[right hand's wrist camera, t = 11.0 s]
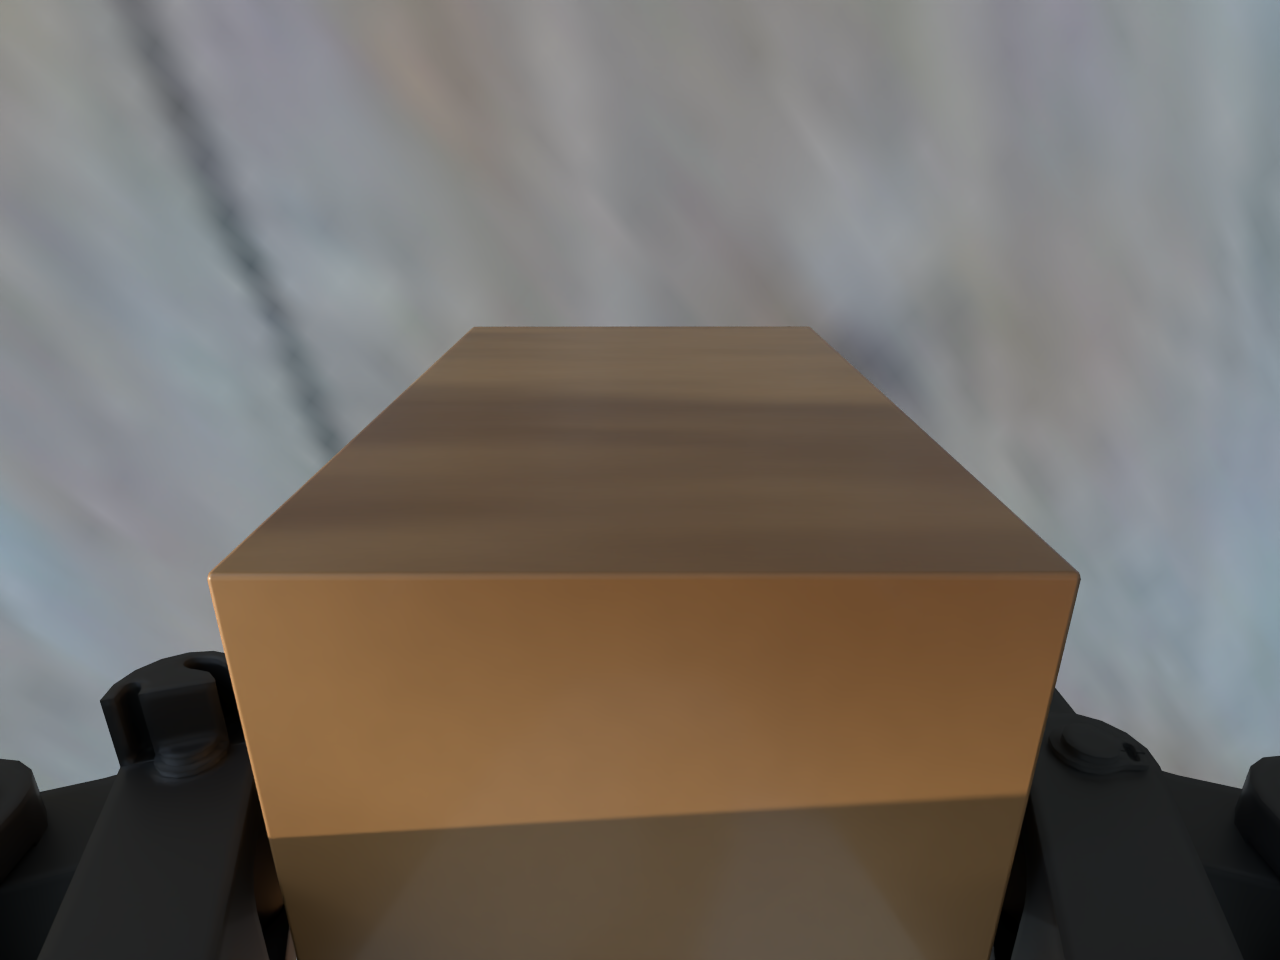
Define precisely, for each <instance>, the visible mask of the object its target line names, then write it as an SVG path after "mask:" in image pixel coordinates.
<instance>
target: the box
mask: <svg viewBox="0 0 1280 960" xmlns="http://www.w3.org/2000/svg"><path fill="white" fill-rule="evenodd" d="M1080 580H1081V579H1080V574H1079V572H1078V571H1077V570H1076V569H1075V568H1073V567H1072V566H1071V565H1070V564H1069V563H1068V562H1067V561H1066V560H1065V559H1064V558H1062V557H1061V556H1060V555H1059V554H1058V553H1057V552H1056V551H1055V550H1054V549H1053V548H1052V547H1050V546H1049V545H1048V544H1047V543H1046V542H1045V541H1044V540H1043V539H1042V538H1041V537H1039V536H1038V535H1037V534H1036V533H1035V532H1034V531H1033V530H1032V529H1031V528H1030V527H1029V526H1027V525H1026V524H1025V523H1024V522H1023V521H1022V520H1021V519H1020V518H1019V517H1018V516H1016V515H1015V514H1014V513H1013V512H1012V511H1011V510H1010V509H1009V508H1008V507H1007V506H1006V505H1004V504H1003V503H1002V502H1001V501H1000V500H999V499H998V498H997V497H996V496H995V495H993V494H992V493H991V492H990V491H989V490H988V489H987V488H986V487H985V486H984V485H983V484H981V483H980V482H979V481H978V480H977V479H976V478H975V477H974V476H973V475H972V474H970V473H969V472H968V471H967V470H966V469H965V468H964V467H963V466H962V465H961V464H960V463H958V462H957V461H956V460H955V459H954V458H953V457H952V456H951V455H950V454H949V453H947V452H946V451H945V450H944V449H943V448H942V447H941V446H940V445H939V444H938V443H937V442H935V441H934V440H933V439H932V438H931V437H930V436H929V435H928V434H927V433H926V432H924V431H923V430H922V429H921V428H920V427H919V426H918V425H917V424H916V423H915V422H914V421H912V420H911V419H910V418H909V417H908V416H907V415H906V414H905V413H904V412H903V411H901V410H900V409H899V408H898V407H897V406H896V405H895V404H894V403H893V402H892V401H891V400H889V399H888V398H887V397H886V396H885V395H884V394H883V393H882V392H881V391H880V390H878V389H877V388H876V387H875V386H874V385H873V384H872V383H871V382H870V381H869V380H868V379H866V378H865V377H864V376H863V375H862V374H861V373H860V372H859V371H858V370H857V369H855V368H854V367H853V366H852V365H851V364H850V363H849V362H848V361H847V360H846V359H845V358H843V357H842V356H841V355H840V354H839V353H838V352H837V351H836V350H835V349H834V348H832V347H831V346H830V345H829V344H828V343H827V342H826V341H825V340H824V339H823V338H822V337H820V336H819V335H818V334H817V333H816V332H815V331H814V330H813V329H812V328H811V327H473V328H472V329H471V330H470V331H469V332H468V333H466V334H465V335H464V336H463V337H462V338H461V339H460V340H459V341H458V342H457V343H456V344H455V345H454V346H453V347H451V348H450V349H449V350H448V351H447V352H446V353H445V354H444V355H443V356H442V357H441V358H440V359H439V360H437V361H436V362H435V363H434V364H433V365H432V366H431V367H430V368H429V369H428V370H427V371H426V372H425V373H423V374H422V375H421V376H420V377H419V378H418V379H417V380H416V381H415V382H414V383H413V384H412V385H411V386H409V387H408V388H407V389H406V390H405V391H404V392H403V393H402V394H401V395H400V396H399V397H398V398H397V399H396V400H394V401H393V402H392V403H391V404H390V405H389V406H388V407H387V408H386V409H385V410H384V411H383V412H382V413H380V414H379V415H378V416H377V417H376V418H375V419H374V420H373V421H372V422H371V423H370V424H369V425H368V426H366V427H365V428H364V429H363V430H362V431H361V432H360V433H359V434H358V435H357V436H356V437H355V438H354V439H352V440H351V441H350V442H349V443H348V444H347V445H346V446H345V447H344V448H343V449H342V450H341V451H340V452H339V453H337V454H336V455H335V456H334V457H333V458H332V459H331V460H330V461H329V462H328V463H327V464H326V465H325V466H323V467H322V468H321V469H320V470H319V471H318V472H317V473H316V474H315V475H314V476H313V477H312V478H311V479H309V480H308V481H307V482H306V483H305V484H304V485H303V486H302V487H301V488H300V489H299V490H298V491H297V492H295V493H294V494H293V495H292V496H291V497H290V498H289V499H288V500H287V501H286V502H285V503H284V504H283V505H282V506H280V507H279V508H278V509H277V510H276V511H275V512H274V513H273V514H272V515H271V516H270V517H269V518H268V519H266V520H265V521H264V522H263V523H262V524H261V525H260V526H259V527H258V528H257V529H256V530H255V531H254V532H252V533H251V534H250V535H249V536H248V537H247V538H246V539H245V540H244V541H243V542H242V543H241V544H240V545H238V546H237V547H236V548H235V549H234V550H233V551H232V552H231V553H230V554H229V555H228V556H227V557H226V558H225V559H223V560H222V561H221V562H220V563H219V564H218V565H217V566H216V567H215V568H214V569H213V570H212V571H211V572H209V574H208V584H209V589H210V593H211V597H212V601H213V606H214V610H215V614H216V618H217V622H218V627H219V631H220V635H221V639H222V644H223V648H224V652H225V656H226V661H227V665H228V669H229V673H230V678H231V682H232V686H233V690H234V694H235V699H236V703H237V707H238V711H239V716H240V720H241V724H242V728H243V733H244V737H245V741H246V745H247V750H248V754H249V758H250V762H251V766H252V771H253V775H254V779H255V783H256V788H257V792H258V796H259V800H260V805H261V809H262V813H263V817H264V822H265V826H266V830H267V834H268V838H269V843H270V847H271V851H272V855H273V860H274V864H275V868H276V872H277V877H278V881H279V885H280V889H281V894H282V898H283V902H284V906H285V910H286V915H287V919H288V923H289V927H290V932H291V936H292V940H293V944H294V949H295V953H296V957H297V960H990V956H991V952H992V948H993V944H994V940H995V935H996V931H997V927H998V923H999V919H1000V915H1001V910H1002V906H1003V902H1004V898H1005V894H1006V889H1007V885H1008V881H1009V877H1010V873H1011V869H1012V864H1013V860H1014V856H1015V852H1016V848H1017V843H1018V839H1019V835H1020V831H1021V827H1022V823H1023V818H1024V814H1025V810H1026V806H1027V802H1028V797H1029V793H1030V789H1031V785H1032V781H1033V777H1034V772H1035V768H1036V764H1037V760H1038V756H1039V751H1040V747H1041V743H1042V739H1043V735H1044V731H1045V726H1046V722H1047V718H1048V714H1049V710H1050V705H1051V701H1052V697H1053V693H1054V689H1055V685H1056V680H1057V676H1058V672H1059V668H1060V664H1061V659H1062V655H1063V651H1064V647H1065V643H1066V639H1067V634H1068V630H1069V626H1070V622H1071V618H1072V613H1073V609H1074V605H1075V601H1076V597H1077V593H1078V588H1079V584H1080Z"/></svg>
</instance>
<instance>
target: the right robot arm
mask: <svg viewBox="0 0 1280 960" xmlns="http://www.w3.org/2000/svg"><path fill="white" fill-rule="evenodd" d="M100 703H101V706H102V709H103V713H104V716H105V719H106V722H107V725H108V728H109V732H110V735H111V738H112V741H113V744H114V748H115V751H116V754H117V757H118V760H119V764H120V769H119V772H118V774H117V775H114V776H110V777H107V778H103V779H99V780H94V781H89V782H85V783H80V784H75V785H71V786H66V787H61V788H57V789H52V790H47V791H43V792H39V789H38V786H37V783H36V781H35V778H34V775H33V773H32V770H31V769H30V768H28V767H27V766H26V765H24V764H23V763H21V762H20V761H16V760H6V759H0V960H296V953H295V949H294V944H293V940H292V936H291V932H290V927H289V923H288V919H287V915H286V910H285V906H284V902H283V898H282V894H281V889H280V885H279V881H278V877H277V872H276V868H275V864H274V860H273V855H272V851H271V847H270V843H269V838H268V834H267V830H266V826H265V822H264V817H263V813H262V809H261V805H260V800H259V796H258V792H257V788H256V783H255V779H254V775H253V771H252V766H251V762H250V758H249V754H248V750H247V745H246V741H245V737H244V733H243V728H242V724H241V720H240V716H239V711H238V707H237V703H236V699H235V694H234V690H233V686H232V682H231V678H230V673H229V669H228V665H227V661H226V656H225V653H221V652H216V651H205V652H189V653H185V654H181V655H177V656H172V657H168V658H164V659H161V660H158V661H156V662H154V663H151V664H149V665H147V666H144V667H142V668H140V669H137V670H135V671H133V672H132V673H130V674H129V675H127V676H126V677H124V678H123V679H121V680H120V681H118V682H117V683H115V684H114V685H113V686H112V687H111V688H110V689H109V691H108V692H107V693H106V694H105V695H104V696H103V698H102V699H101V700H100ZM990 960H1280V756H1274V757H1264V758H1262V759H1260V760H1259V761H1257V762H1256V763H1255V764H1253V765H1252V766H1250V769H1249V772H1248V775H1247V777H1246V780H1245V783H1244V785H1243V788H1242V789H1239V788H1235V787H1230V786H1225V785H1221V784H1216V783H1211V782H1207V781H1202V780H1197V779H1193V778H1188V777H1183V776H1179V775H1175V774H1171V773H1168V772H1164V771H1162V770H1161V768H1160V766H1159V764H1158V763H1157V762H1156V760H1155V759H1154V758H1153V756H1152V755H1151V753H1150V752H1149V751H1148V749H1147V748H1145V747H1144V746H1143V745H1142V744H1140V743H1139V742H1138V741H1136V740H1135V739H1134V738H1132V737H1131V736H1130V735H1129V734H1127V733H1126V732H1123V731H1121V730H1119V729H1117V728H1115V727H1113V726H1111V725H1109V724H1107V723H1105V722H1103V721H1100V720H1097V719H1093V718H1089V717H1086V716H1082V715H1079V714H1076V713H1075V712H1074V711H1073V709H1072V708H1071V707H1070V706H1069V704H1068V703H1067V702H1066V701H1065V699H1064V698H1063V697H1062V696H1061V694H1060V693H1059V692H1058V691H1057V689H1056V688H1055V689H1054V693H1053V697H1052V701H1051V705H1050V710H1049V714H1048V718H1047V722H1046V726H1045V731H1044V735H1043V739H1042V743H1041V747H1040V751H1039V756H1038V760H1037V764H1036V768H1035V772H1034V777H1033V781H1032V785H1031V789H1030V793H1029V797H1028V802H1027V806H1026V810H1025V814H1024V818H1023V823H1022V827H1021V831H1020V835H1019V839H1018V843H1017V848H1016V852H1015V856H1014V860H1013V864H1012V869H1011V873H1010V877H1009V881H1008V885H1007V889H1006V894H1005V898H1004V902H1003V906H1002V910H1001V915H1000V919H999V923H998V927H997V931H996V935H995V940H994V944H993V948H992V952H991V956H990Z"/></svg>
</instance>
